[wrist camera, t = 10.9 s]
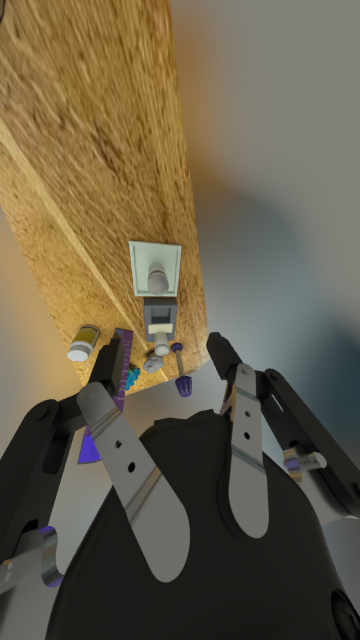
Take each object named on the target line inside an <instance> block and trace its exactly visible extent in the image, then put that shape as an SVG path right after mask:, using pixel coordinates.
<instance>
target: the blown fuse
mask: <svg viewBox="0 0 360 640" xmlns="http://www.w3.org/2000/svg"><path fill="white" fill-rule="evenodd" d="M148 289H149V291H150V292H151V293H152V294H154V295H163V294H165V293H166V292H167V291H168V289H169V282H168V279H167V276H166V273H165V270H164V267H163V266H162V265H161V264H160V263H156V262H155V263H152V264H151V265H150V266H149V269H148Z"/></svg>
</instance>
